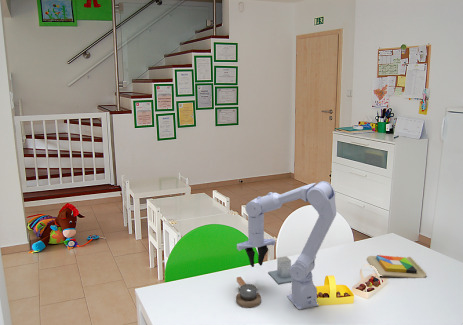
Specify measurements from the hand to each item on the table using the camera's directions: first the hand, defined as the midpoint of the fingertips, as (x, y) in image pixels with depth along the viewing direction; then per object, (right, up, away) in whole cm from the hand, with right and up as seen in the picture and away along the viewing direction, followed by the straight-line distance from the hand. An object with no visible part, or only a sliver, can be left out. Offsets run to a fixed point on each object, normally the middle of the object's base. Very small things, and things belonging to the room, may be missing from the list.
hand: (256, 265), depth 155 cm
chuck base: (-3, -11, -7) cm, 13 cm away
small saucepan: (-4, -9, -4) cm, 10 cm away
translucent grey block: (+12, -7, +10) cm, 17 cm away
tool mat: (+12, -7, +10) cm, 17 cm away
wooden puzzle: (+58, -6, +16) cm, 61 cm away
